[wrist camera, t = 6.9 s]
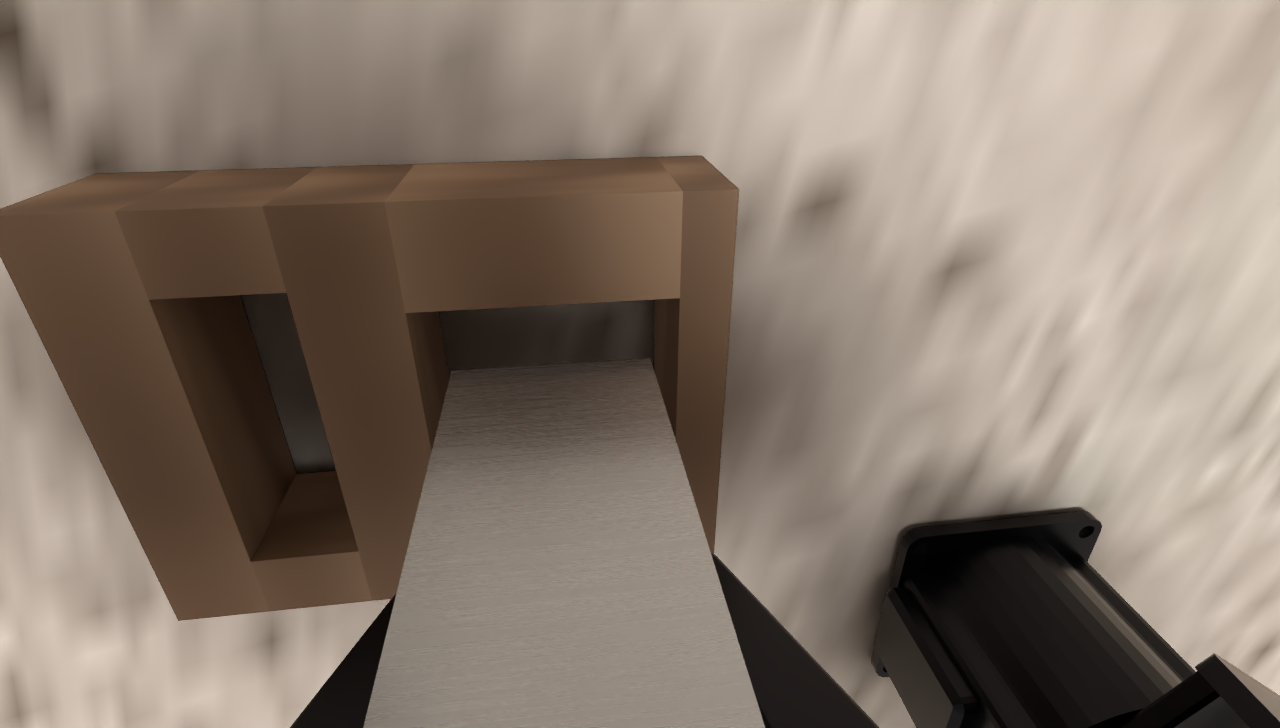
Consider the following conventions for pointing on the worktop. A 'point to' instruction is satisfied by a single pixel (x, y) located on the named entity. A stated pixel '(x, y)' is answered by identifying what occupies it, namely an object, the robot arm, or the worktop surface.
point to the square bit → (559, 566)
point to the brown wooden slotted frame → (343, 340)
